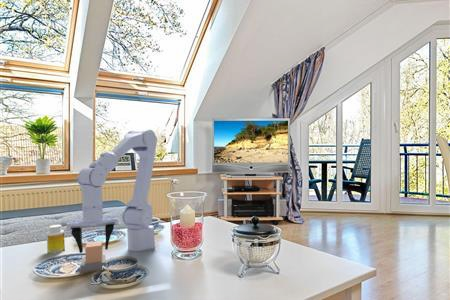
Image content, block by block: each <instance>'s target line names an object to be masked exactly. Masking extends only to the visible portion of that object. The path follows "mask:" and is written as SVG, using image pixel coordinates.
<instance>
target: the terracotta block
mask: <svg viewBox="0 0 450 300" xmlns="http://www.w3.org/2000/svg"><path fill="white" fill-rule="evenodd" d="M84 249H85V252H84V253H85V257H86V264H89V263H96V262H102V258H103V255H104V254H103V241H102V240H100V241H99V240H98V241H91V242H86V245H85V248H84Z"/></svg>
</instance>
